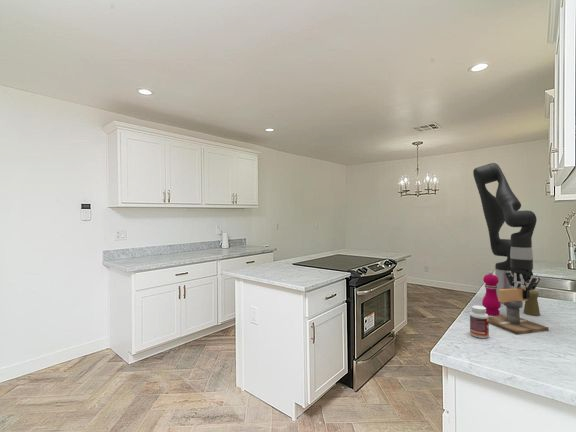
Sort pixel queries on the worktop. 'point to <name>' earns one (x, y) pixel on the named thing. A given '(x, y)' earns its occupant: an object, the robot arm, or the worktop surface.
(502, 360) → the worktop surface
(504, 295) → the tan long piece
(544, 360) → the worktop surface
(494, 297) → the pepper mill
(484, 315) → the pill bottle
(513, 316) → the square stand base
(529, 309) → the cork
